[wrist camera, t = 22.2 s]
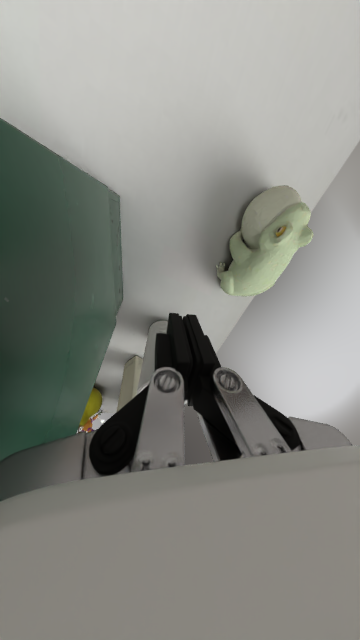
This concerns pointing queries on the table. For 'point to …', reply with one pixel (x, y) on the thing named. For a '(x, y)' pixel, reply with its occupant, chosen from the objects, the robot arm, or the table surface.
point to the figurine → (266, 241)
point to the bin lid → (50, 291)
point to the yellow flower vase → (91, 406)
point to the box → (130, 381)
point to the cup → (151, 355)
